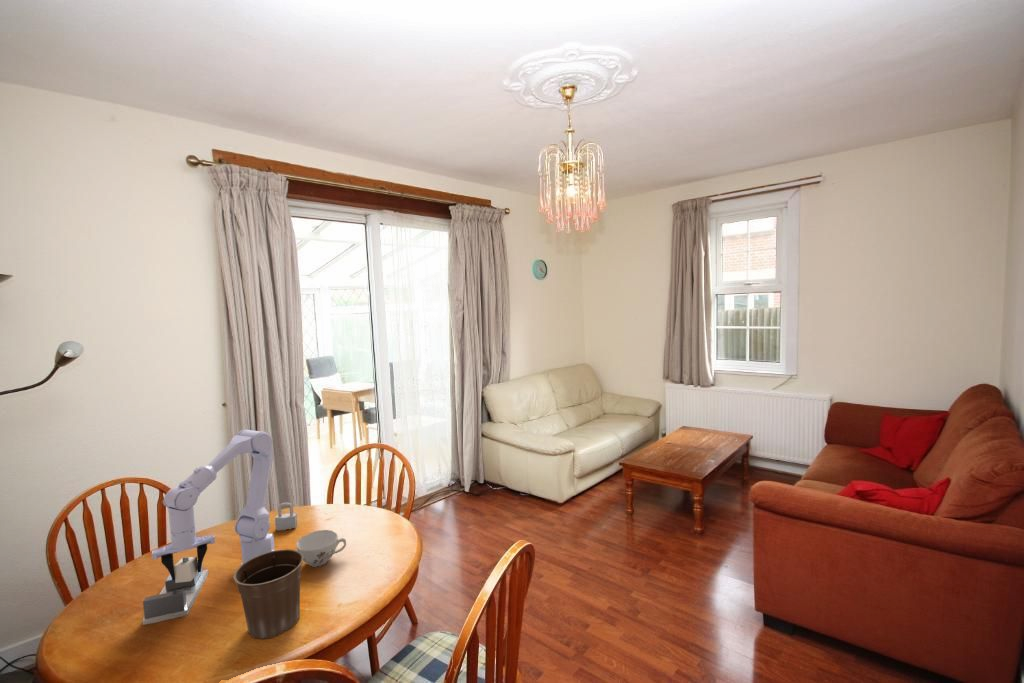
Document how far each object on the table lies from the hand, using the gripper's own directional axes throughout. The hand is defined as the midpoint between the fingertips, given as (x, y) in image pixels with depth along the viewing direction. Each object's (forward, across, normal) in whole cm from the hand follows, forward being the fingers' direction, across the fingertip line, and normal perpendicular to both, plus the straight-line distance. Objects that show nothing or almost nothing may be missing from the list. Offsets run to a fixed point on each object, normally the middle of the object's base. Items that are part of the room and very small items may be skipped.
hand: (186, 574), depth 130 cm
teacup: (+8, -36, +3) cm, 37 cm away
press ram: (+6, +1, -10) cm, 12 cm away
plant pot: (+8, -18, +26) cm, 33 cm away
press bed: (+8, +2, -4) cm, 9 cm away
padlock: (+8, -31, -31) cm, 44 cm away
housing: (+1, 0, 0) cm, 1 cm away
